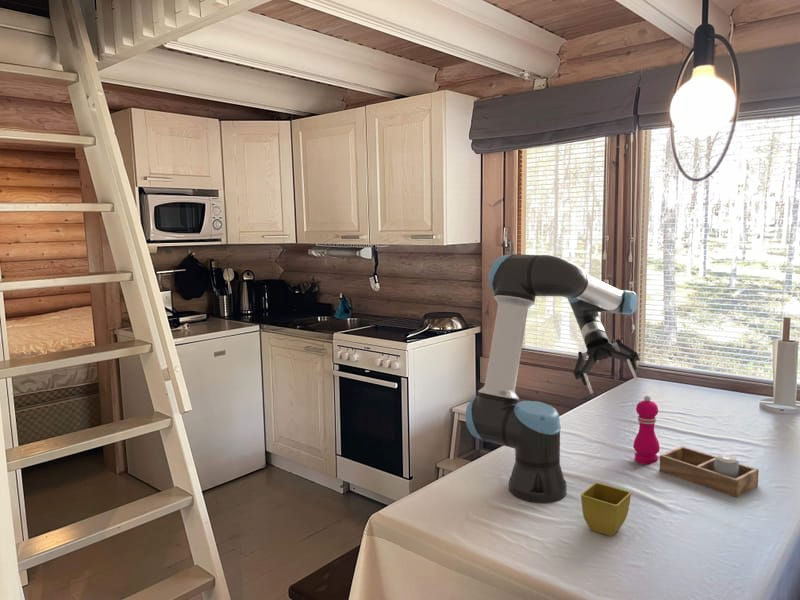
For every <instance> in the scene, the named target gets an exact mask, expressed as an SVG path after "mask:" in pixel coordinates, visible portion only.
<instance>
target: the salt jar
mask: <svg viewBox="0 0 800 600" xmlns="http://www.w3.org/2000/svg"><path fill="white" fill-rule="evenodd" d="M716 457H717V458H715V468H714V472H717V473H720V474H723V475H726V476H729V477H732V478H735V479H736V478H738V472H739V464H740V462H739V460H737V458H736V457H735V456H732V455H728V454H719V455H717V456H716Z"/></svg>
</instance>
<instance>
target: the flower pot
mask: <svg viewBox="0 0 800 600" xmlns="http://www.w3.org/2000/svg"><path fill="white" fill-rule="evenodd" d="M631 496H632V492H631V491H628V490H625V489H622V488H620V487H619V488H618V487H616V486H615V487H614V486H611V485H608V484H604V483H600V482H594V483H593V484H591V485H590V486H589V487H588V488H586V490H584V491H583V492H582V493H581V494H580V498H581V499H580V500H581V501H580V502H581V509H582V515H583V519H584V521H585V523H586V524H587V527H589V529H590V530H591V531H594V532H597V533H600V534H602V535H606V536H608V537H612V536H614V535H615V534H616V533H617V532H618V531H619V530H620V529H621V528H622V526H623V525H624V523H625V521H626V519H627V517H628V513H629V509H630V504H631Z"/></svg>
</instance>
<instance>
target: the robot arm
mask: <svg viewBox="0 0 800 600" xmlns="http://www.w3.org/2000/svg"><path fill="white" fill-rule="evenodd" d="M488 283H489V288H490V290H491V291H492V293H494V294H493V299H494V300H495V301H496V302H497V308H496V309H497V310H496V315H495V321H494V329H493V332H492V333H493V334H492V338H491V339H492V340H491V345H490V351H489V357H488V362H487V363H488V364H487V367H486V375H485V381H484V386H482V387H481V388H480V389H479V390H478V391H477V396H474V397H473V398H471V399H470V400H469V403H467V405H466V411H465V424H466V427H467V429H468V431H469V432H470V434H471V435H472V436H473V437H474V438H477V439H480V440H481V441H483V442H486V443H487V442H488V443H489V442H490V443H492V444H497V445H500V446H504V447H508V448H512V449H514V451H515V454H514V455H515V458H514V459H515V460H514V461H515V462H514V465H513V468H512V471H511V475H510V477H509V479H508V490H509V492H510V493H511V494H512V495H513V496H515V497H516V498H517V499H520V500H523V501H527V502H531V503H539V504H540V503H553V502H557V501H560V500H562V499H564V498H565V497H566V495H567V494H568V493H567V487H568V486H567V482H566V480H565V478H564V472H563V470H562V467H561V462H560V460H561V419H560V413H559V412H558V410H557V409H556V408H554V407H553V406H552V405H549V404H547V403H545V402H542V401H536V400H534V401H532V400H522V401H520V397H519V396H518V395H517V393H516V388H517V387H516V384H517V379H518V373H519V367H520V360H521V354H522V350H523V349H522V348H523V342H524V337H525V330H526V323H527V317H528V312H529V309H530V308H531V307H532V306H533V305H535V301H536V297H562V298H566V299H567V301H568V303H569V305H570V307H571V309H572V311H573V315H574V318H575V320H576V323H577V324H578V328H579V331H580V333H581V337H582V339H583V341H584V345H585V348H586V351H585V352H582V351H578V353H577V356H578V358H577V361H576V364H575V368H574V370H573V377H574V378H575V379H576V380H579V379H581V381H582V385H583V386H586V387H587V388H588V390H589V393H590V394H594V391H593V389H592V385H591V382H590V380H589V377H588V375H589V372H590V371H591V370H592V368H593V367H594V365H596V363H597V361H598V362H599V361H602V360H604V359H605V360H606V359H608V358H612V359H617V360H620V361H622V362H625V363H627V364H628V367H629V369H630V371H631V374H632V377H633V379H634V381H637V380H638V377H637V374H636V372H635V371H636V370H637V369H638V368H637V363H636V361H640V357H639V353H638V352H637V351H635V350H633V349H632V348H630V347H629V346H627V345H626V344H623V343H622V341H621V339H615V342H612V343H611V342H610V340H609V337H608V335H607V332H606V330H605V327H604V325H603V323H602V320H601V316H600V314H599V313H606V314H607V313H609V314H617V315H618V314H620V315H632V314H635V312H636V311H637V308H638V302H639V300H638V295H637V294H636V292H635V291H631V290H627V289H625V290H623V289H619V288H617V287H614V286H612V285H610V284H608V283H605V282H604V281H602V280H600V279H598V278H597V277H593V276H592V275H589V274H588V272H587V271H586V270H585V268H583V267H582V266H580V265H578V264H575V263H573V262H571V261H568V260H566V259H563V258H561V257H558V256H554V255H550V254H519V253H518V254H516V253H512V254H506V255H505V254H504V255H501V256H499V257H498V258H497V259H496V260H495V261H494V262H493V264H492V265H491V267H490V270H489V274H488ZM614 348H616V349H617V350H616V349H614ZM618 350H620V351H618ZM586 358H587V360H586ZM585 360H586V362H585Z"/></svg>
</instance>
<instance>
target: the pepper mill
mask: <svg viewBox="0 0 800 600" xmlns="http://www.w3.org/2000/svg"><path fill="white" fill-rule="evenodd" d="M643 399H644V400H641V401H639V402H638V403H637V405H636V409H635V410H636V413H637V414H638V416H637V421H638V422H639V428H638V432H637V435H636V436H635V439H634V440H633V445H632V446H633V450H634V451H635V454H634V460H635V461H636V462H637V463H638V464H641V465H646V466H649V465H651V464H654V463H656V462H658V460H659V459H658V458H659V457H658V455H657V454H658V453H659V452H660V450H661V449H660V443H659V439H658V438H657V436H656V432H655V424H656V423H657V415H658V413H659V407H658V405H657V403H655V402H654V401H652V400H651V396H650V395H645V396H644V397H643Z"/></svg>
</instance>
